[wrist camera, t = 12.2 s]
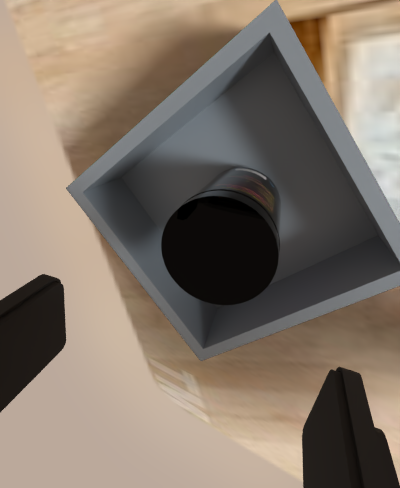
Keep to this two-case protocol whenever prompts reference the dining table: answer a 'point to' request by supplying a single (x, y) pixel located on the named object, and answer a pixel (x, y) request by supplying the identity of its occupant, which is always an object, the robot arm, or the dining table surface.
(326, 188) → the tote
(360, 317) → the dining table surface
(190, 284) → the supplement container
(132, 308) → the dining table surface
